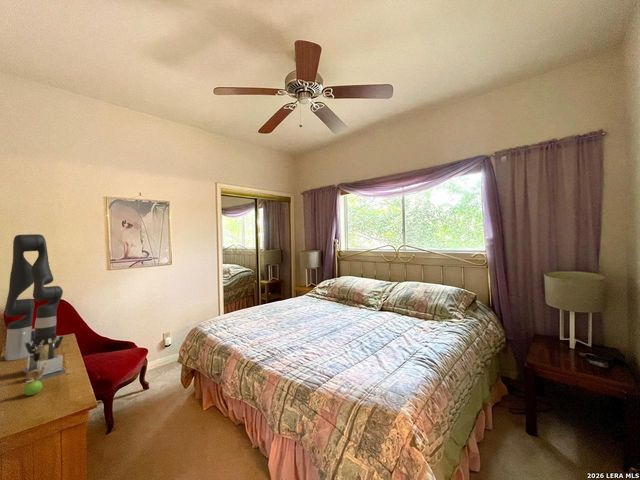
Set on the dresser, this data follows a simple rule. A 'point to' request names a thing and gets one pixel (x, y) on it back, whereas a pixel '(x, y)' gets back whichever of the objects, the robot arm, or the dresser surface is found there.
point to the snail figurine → (34, 381)
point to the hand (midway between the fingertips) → (43, 359)
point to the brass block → (43, 352)
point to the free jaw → (51, 361)
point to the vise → (33, 366)
